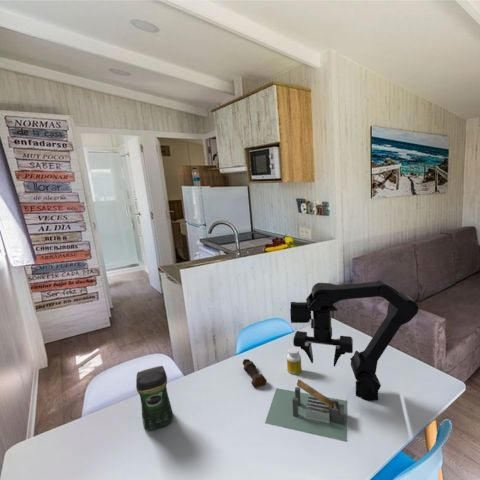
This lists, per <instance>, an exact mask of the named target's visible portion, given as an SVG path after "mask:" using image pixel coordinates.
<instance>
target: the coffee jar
mask: <svg viewBox="0 0 480 480" xmlns="http://www.w3.org/2000/svg"><path fill="white" fill-rule="evenodd" d="M135 381H136V385H135V388H136V392H137V394H138V395H139V398H140V405H141V407H140V408H141V420H142V426H143V429H145V431H149V432H150V431H154V430H157V429H161V428H165V426H168V425H170V424H171V422H172V421H173V419H174V414H173V407H172V404H171V401H170V397H169V393H168V390H167V389H168V387H167V384H168V375H167V372H166V370H165V367H164V365H158V366H154V367H149V368H146V369H143V370H140V371H137V372H136V379H135Z"/></svg>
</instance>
